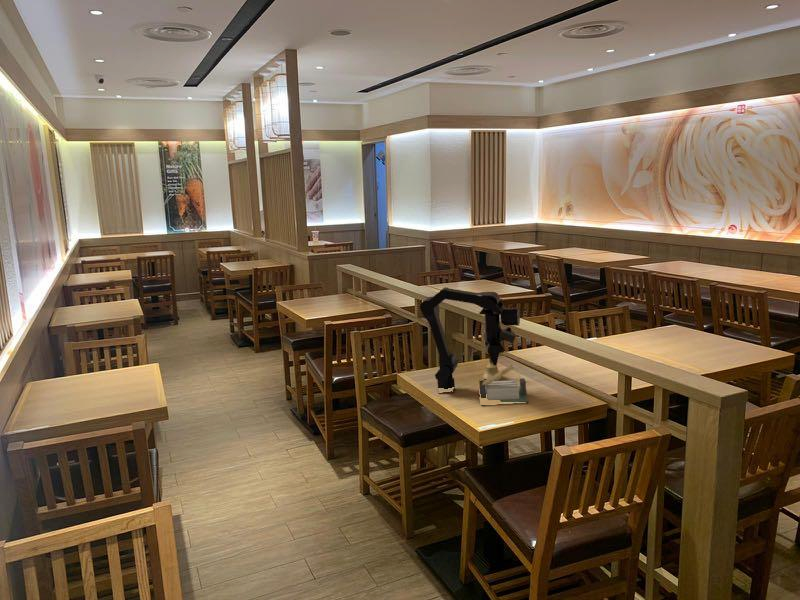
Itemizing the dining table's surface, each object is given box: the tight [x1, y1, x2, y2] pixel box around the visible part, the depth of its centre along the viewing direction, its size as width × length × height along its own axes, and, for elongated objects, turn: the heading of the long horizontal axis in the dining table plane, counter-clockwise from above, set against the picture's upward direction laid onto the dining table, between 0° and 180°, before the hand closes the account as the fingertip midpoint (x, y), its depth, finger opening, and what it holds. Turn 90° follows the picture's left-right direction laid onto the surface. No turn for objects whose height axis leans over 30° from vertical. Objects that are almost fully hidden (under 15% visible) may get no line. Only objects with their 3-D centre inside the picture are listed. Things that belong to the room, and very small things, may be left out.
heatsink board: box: [478, 377, 529, 403], centre depth 232 cm, size 18×14×6 cm
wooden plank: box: [482, 364, 515, 387], centre depth 231 cm, size 14×3×1 cm
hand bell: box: [482, 355, 503, 381], centre depth 251 cm, size 8×8×16 cm
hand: (494, 362), depth 234 cm, fingers open, 5 cm apart
